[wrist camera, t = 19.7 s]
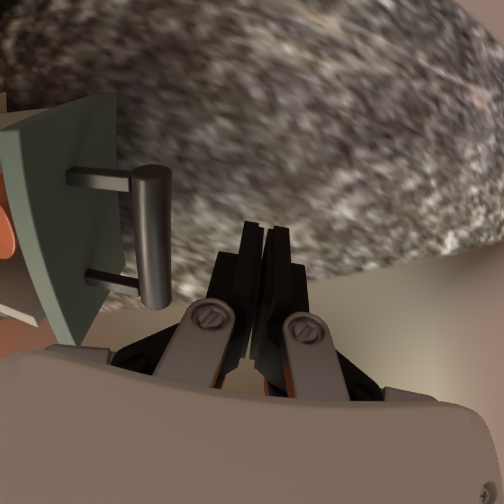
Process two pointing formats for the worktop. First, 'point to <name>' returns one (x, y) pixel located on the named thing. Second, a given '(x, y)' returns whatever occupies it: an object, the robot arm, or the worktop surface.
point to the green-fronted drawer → (78, 217)
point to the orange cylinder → (6, 225)
